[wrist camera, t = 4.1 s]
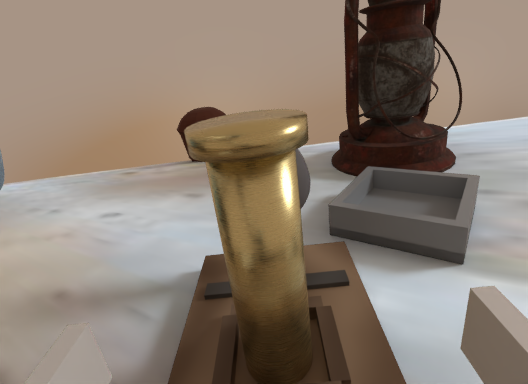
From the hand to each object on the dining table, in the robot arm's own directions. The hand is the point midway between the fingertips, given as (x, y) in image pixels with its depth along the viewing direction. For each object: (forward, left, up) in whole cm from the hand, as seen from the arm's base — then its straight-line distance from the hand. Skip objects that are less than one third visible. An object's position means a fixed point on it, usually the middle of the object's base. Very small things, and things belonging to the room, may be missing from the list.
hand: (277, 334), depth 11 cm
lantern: (-8, +46, -9) cm, 48 cm away
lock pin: (-3, +4, -7) cm, 9 cm away
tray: (-1, +26, -9) cm, 28 cm away
